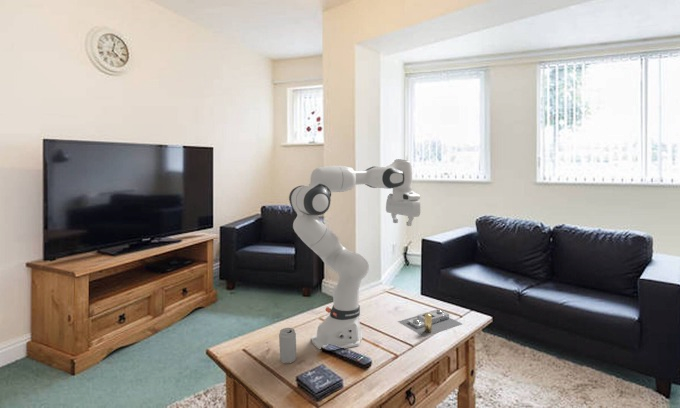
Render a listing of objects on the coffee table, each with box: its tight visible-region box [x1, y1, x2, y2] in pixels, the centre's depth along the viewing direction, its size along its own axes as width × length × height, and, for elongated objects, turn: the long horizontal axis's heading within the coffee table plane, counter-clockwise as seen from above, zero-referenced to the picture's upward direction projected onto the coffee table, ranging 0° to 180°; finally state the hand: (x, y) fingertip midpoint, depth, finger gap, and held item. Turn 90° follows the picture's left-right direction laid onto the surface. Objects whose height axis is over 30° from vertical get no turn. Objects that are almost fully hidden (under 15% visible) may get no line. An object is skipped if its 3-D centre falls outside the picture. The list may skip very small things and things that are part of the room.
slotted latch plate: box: [408, 308, 450, 329], centre depth 172 cm, size 20×7×3 cm, turn 120°
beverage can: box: [278, 327, 297, 364], centre depth 140 cm, size 6×6×12 cm
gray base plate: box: [397, 315, 463, 338], centre depth 170 cm, size 24×18×1 cm
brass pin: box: [424, 312, 432, 333], centre depth 161 cm, size 3×3×8 cm
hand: (402, 224), depth 168 cm, fingers open, 8 cm apart
